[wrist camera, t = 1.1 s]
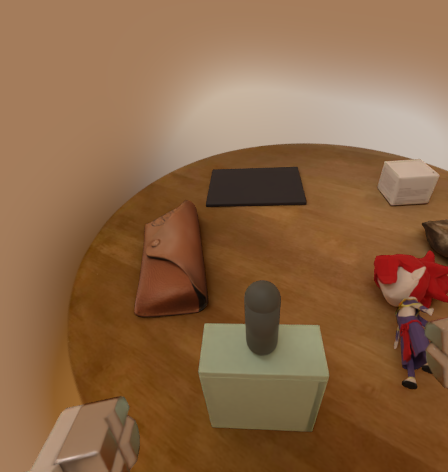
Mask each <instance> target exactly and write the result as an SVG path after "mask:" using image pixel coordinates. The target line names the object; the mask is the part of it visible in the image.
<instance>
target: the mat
mask: <svg viewBox="0 0 448 472" xmlns="http://www.w3.org/2000/svg"><path fill="white" fill-rule="evenodd" d="M306 203H307V202H306V198H305V194H304V190H303V186H302V183H301V179H300V175H299V171H298V167H279V168H248V169H218V170H213V171H212V176H211V181H210V186H209V191H208V196H207V202H206V207H219V206H265V205H306Z"/></svg>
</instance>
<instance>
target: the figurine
mask: <svg viewBox="0 0 448 472" xmlns="http://www.w3.org/2000/svg"><path fill="white" fill-rule="evenodd" d="M434 259H435V256H434V253H433V252H432V251H430V250H429V251H428V253H427V254H426V256H425V257H424V258H415V257H414V256H411V255H403V254H396V255H391V256H390V255H380V256H376V258H375V261H374V266H375V269H374V281H375V283H376V285H377V286H378V287H379V288H380V289H381V290H382V292H383V295H384V297H385V299H386V301H387V302H388V303H389V304H391V305H393V306H398V307H399V308H398V309H397V311H396V313H395V314H396V317H397V323H398V325H399V326H398V328H397V331H396V341H395V343H394V346H395V347H394V349H396V348H397V345H398V342H399V339H400V336H401V354H402V367H403V368H404V369H407V371H408V379H406V380H404V381H402V385H403V386H404V387H407V388H409V389H417V384H416V380H415V372H414V370H415V369H419V368H420V367H422V370H423V371H425V372H428V373H430V374H432V372H431V370H430V368H429V365H428V363H427V361H426V348H427V347H428V345H429V340H428V338H427V337H426V336H425V330H424V328H423V327H425V325H426V323H427V322H428V321H426V320H425V319H423V318H422V317H420V316H419V311H422V312H425V313H428V314H429V315H430V316H431V315H432V313H433V311H434V310H433V308H431V309H429V307H430V305H431V302H432V298H434V299H437V300H440V301H443V302H447V303H448V296H447V295H446V294H447V293H448V276H447V274H448V267H447V266H443V265H440V264H437V263H435V260H434ZM419 302H420V303H419ZM422 326H423V327H422ZM426 363H427V364H426Z"/></svg>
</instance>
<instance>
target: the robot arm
mask: <svg viewBox="0 0 448 472" xmlns="http://www.w3.org/2000/svg"><path fill="white" fill-rule="evenodd" d="M425 336H426V337H427V338H428V339H429V340H430V341H431V342H430V343H429V345H428V347H427V348H426V361H427V363H428V365H429V368H430V370H431V372H432V374H433V375H434V376H435V378H436V379H437V380H438V381H439V383H440V384H441V385H442V386H443V387H444V388H447V389H448V317H446V318H442V319H438V320H434V321H430V322H427V323H426V325H425ZM128 410H129V405H128V403H127V401H126V399H125V397H122V396H119V397H114V398H109V399H105V400H100V401H95V402H91V403H86V404H84V405H79V406H74V407H69V408H66V409H65V410H64V411H63V412H61V414H60V416H59V418H58V420H57V421H56V423H55V425H54V427H53V429H52V431H51V433H50V434H49V436H48V438H47V440H46V442H45V444H44V446H43V448H42V449H41V451H40V453H39V455H38V457H37V459H36V460H35V462H34V464H33V466H32V468H31V470H30V471H27V472H130V470H131V468H132V467H133V466H134V464H135V463H136V462H137V459H138V454H139V449H140V436H139V431H138V426H137V424H136V421H135V419H133V418H131V417H130V416H128V415H127V413H128Z"/></svg>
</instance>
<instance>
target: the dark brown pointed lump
mask: <svg viewBox="0 0 448 472" xmlns="http://www.w3.org/2000/svg"><path fill="white" fill-rule="evenodd" d="M422 225H423V227H424V228H425V232H426V237H427V241H428V242H429V244H430V246H431V247H432V248H433V249H434V250H435V251H436V252H437V253H439V254H440V255H442V256H444V257H447V258H448V220H447V219H446V220H440V221H428V222H424V223H422Z"/></svg>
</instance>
